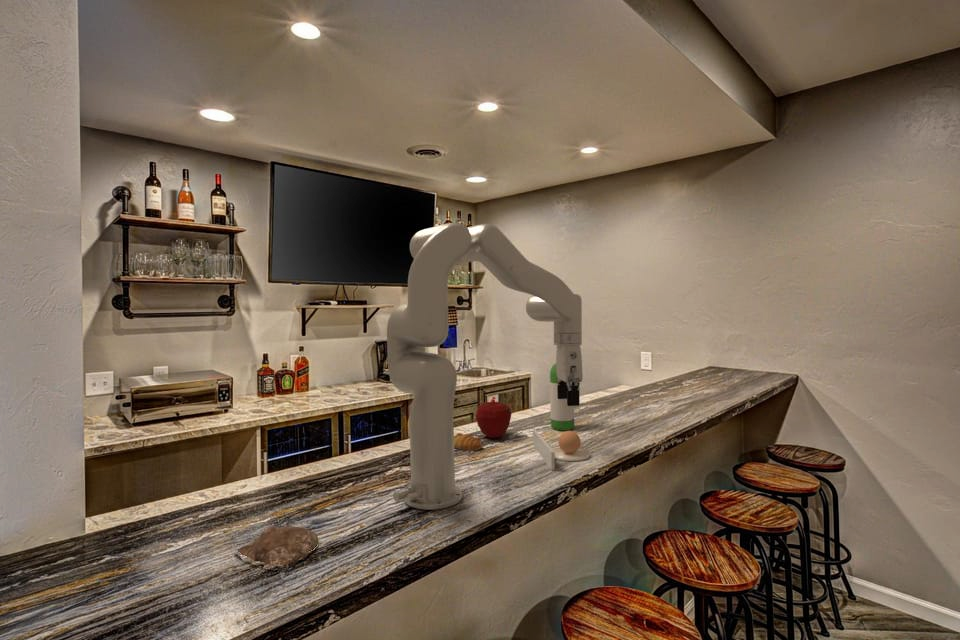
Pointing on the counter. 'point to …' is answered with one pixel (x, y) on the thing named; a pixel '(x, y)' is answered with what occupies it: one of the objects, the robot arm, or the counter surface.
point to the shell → (281, 545)
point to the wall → (544, 450)
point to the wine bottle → (559, 406)
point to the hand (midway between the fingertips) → (568, 402)
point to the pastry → (466, 442)
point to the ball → (569, 442)
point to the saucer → (571, 455)
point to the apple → (493, 418)
